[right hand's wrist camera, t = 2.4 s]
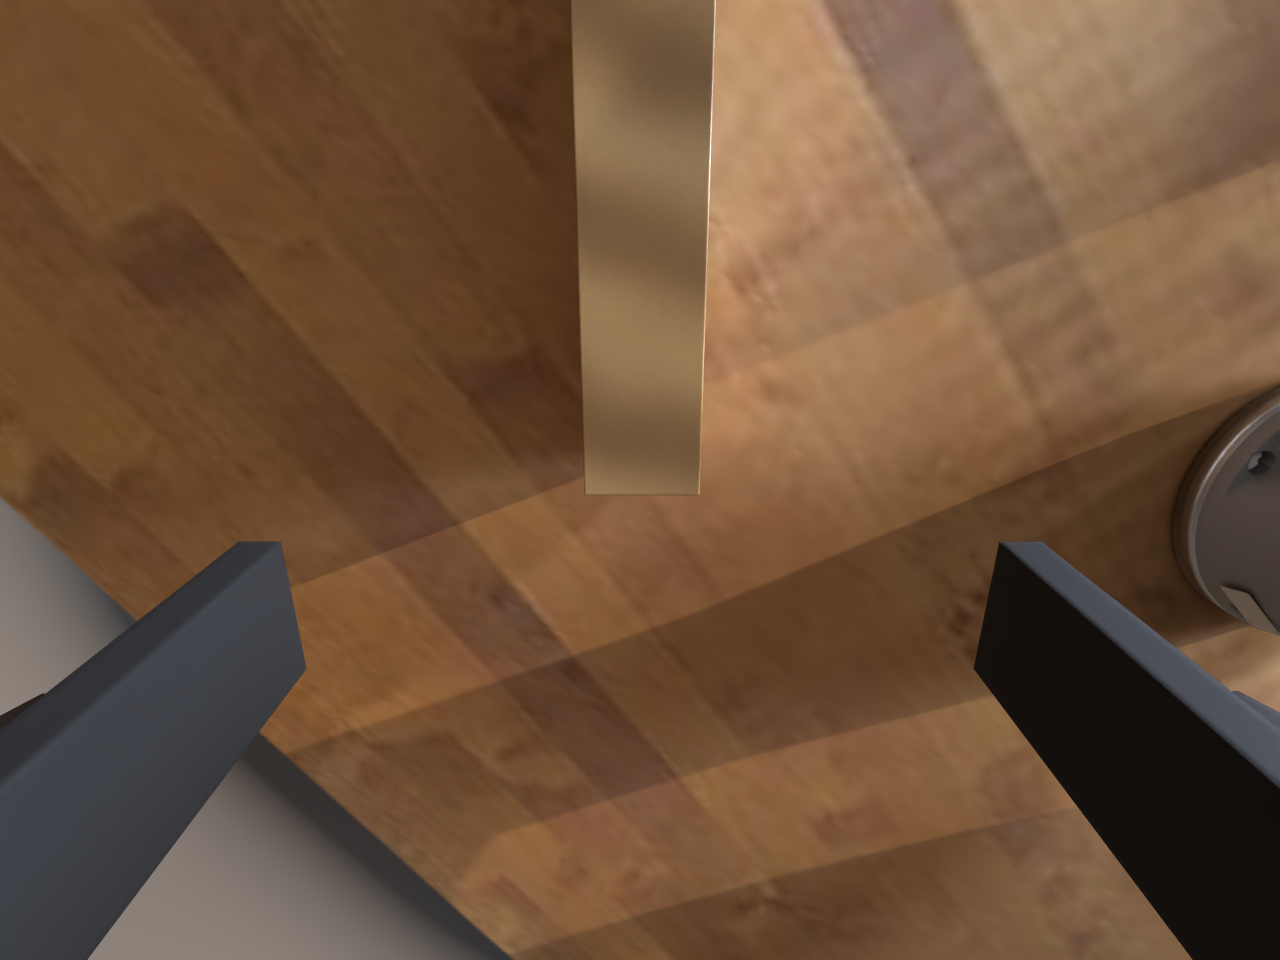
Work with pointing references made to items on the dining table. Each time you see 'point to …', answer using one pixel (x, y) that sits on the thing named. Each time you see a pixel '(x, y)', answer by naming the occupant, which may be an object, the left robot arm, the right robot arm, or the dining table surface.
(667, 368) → the beam
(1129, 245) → the dining table surface
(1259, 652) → the dining table surface
